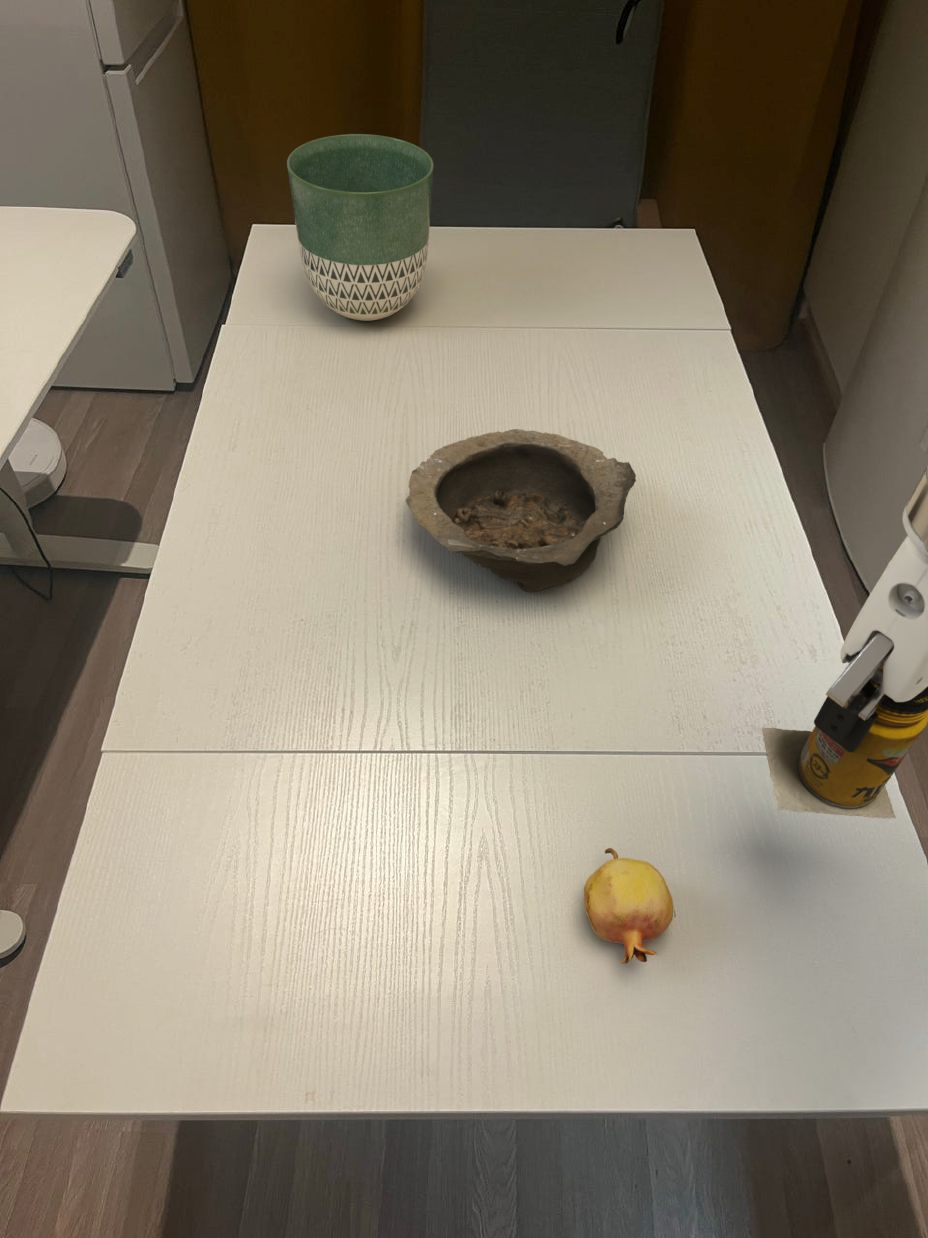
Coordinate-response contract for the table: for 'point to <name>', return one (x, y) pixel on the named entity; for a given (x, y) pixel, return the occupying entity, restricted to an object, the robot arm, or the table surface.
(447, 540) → the stone bowl
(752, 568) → the table surface
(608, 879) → the fruit
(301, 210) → the planter
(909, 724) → the condiment
